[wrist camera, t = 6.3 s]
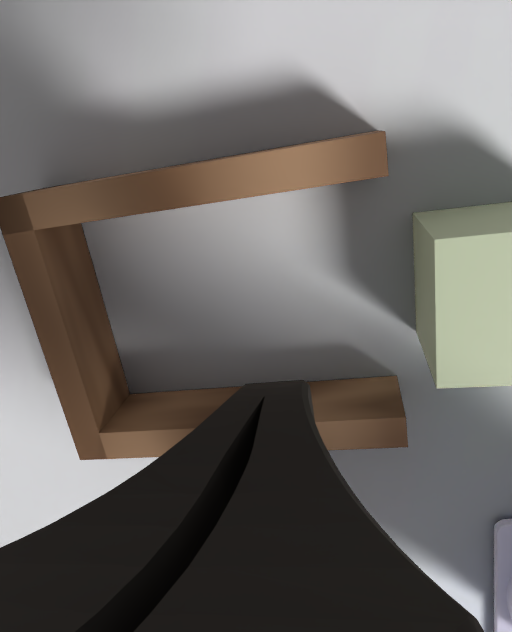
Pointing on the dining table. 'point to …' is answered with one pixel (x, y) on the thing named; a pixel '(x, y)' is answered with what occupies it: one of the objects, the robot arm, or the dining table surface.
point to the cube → (465, 294)
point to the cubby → (93, 324)
